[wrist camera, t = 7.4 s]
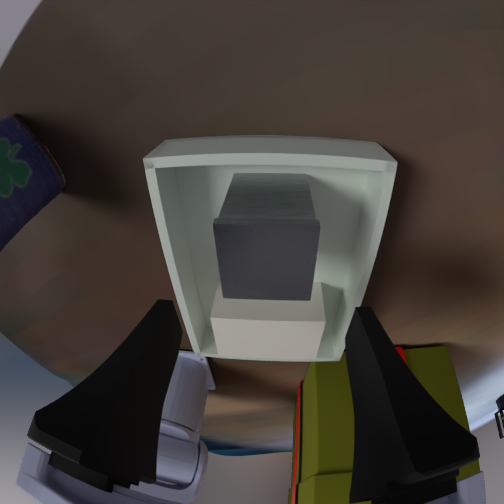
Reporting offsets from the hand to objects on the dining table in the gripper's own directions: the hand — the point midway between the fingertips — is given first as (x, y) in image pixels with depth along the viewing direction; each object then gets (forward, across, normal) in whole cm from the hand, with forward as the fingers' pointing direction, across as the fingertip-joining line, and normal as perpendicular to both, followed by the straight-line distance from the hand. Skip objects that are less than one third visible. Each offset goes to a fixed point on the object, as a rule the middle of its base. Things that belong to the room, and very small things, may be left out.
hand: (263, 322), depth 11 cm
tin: (+9, 0, 0) cm, 9 cm away
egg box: (+9, 0, +9) cm, 13 cm away
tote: (+10, 0, +4) cm, 11 cm away
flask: (+10, +19, -6) cm, 22 cm away
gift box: (+10, -13, +26) cm, 30 cm away
